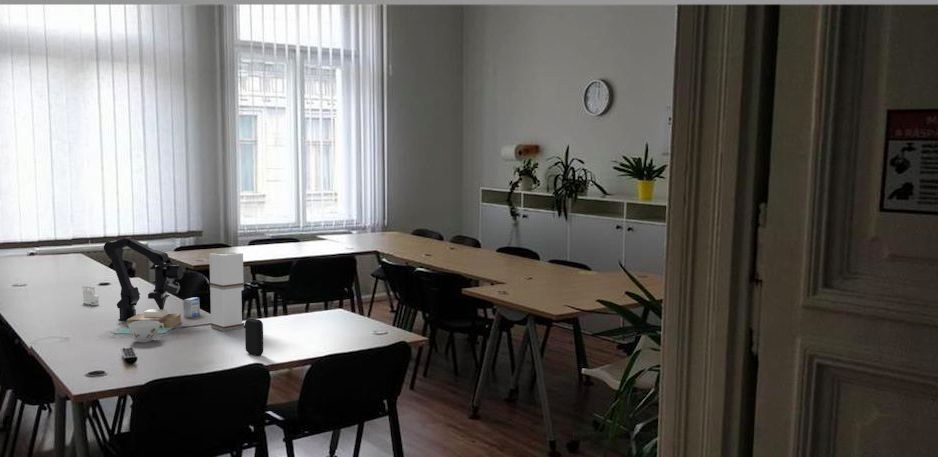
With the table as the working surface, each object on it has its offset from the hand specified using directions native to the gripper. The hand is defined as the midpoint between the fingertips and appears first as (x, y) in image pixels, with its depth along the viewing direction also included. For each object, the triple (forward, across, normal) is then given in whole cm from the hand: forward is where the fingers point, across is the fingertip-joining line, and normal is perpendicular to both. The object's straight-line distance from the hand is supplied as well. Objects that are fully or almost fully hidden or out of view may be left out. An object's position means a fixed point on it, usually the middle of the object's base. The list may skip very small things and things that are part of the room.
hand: (161, 310), depth 384 cm
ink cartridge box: (+6, +43, +54) cm, 69 cm away
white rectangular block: (+1, -8, 0) cm, 8 cm away
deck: (+5, -10, 0) cm, 11 cm away
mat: (+5, -23, 0) cm, 24 cm away
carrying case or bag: (+5, -66, -61) cm, 90 cm away
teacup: (+5, -42, -9) cm, 43 cm away
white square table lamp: (+5, -15, -36) cm, 39 cm away
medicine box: (+5, +13, -10) cm, 17 cm away
